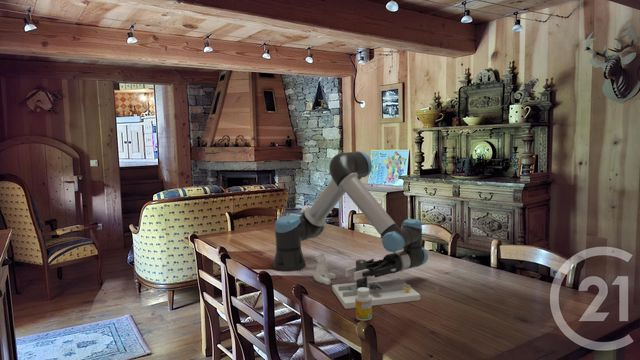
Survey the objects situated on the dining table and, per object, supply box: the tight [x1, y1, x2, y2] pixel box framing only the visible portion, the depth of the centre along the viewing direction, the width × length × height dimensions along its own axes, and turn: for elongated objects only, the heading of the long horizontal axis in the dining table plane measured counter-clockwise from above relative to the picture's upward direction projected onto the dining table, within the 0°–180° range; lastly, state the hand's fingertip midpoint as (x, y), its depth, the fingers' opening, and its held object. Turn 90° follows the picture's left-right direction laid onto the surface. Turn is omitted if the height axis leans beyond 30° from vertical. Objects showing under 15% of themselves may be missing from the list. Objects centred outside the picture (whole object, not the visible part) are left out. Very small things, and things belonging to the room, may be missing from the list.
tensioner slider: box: [350, 259, 382, 291], centre depth 163 cm, size 11×10×11 cm
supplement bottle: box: [355, 287, 373, 322], centre depth 146 cm, size 5×5×10 cm
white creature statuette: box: [313, 252, 337, 286], centre depth 184 cm, size 10×9×12 cm
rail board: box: [331, 277, 421, 310], centre depth 166 cm, size 28×20×4 cm
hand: (350, 274), depth 161 cm, fingers open, 4 cm apart
